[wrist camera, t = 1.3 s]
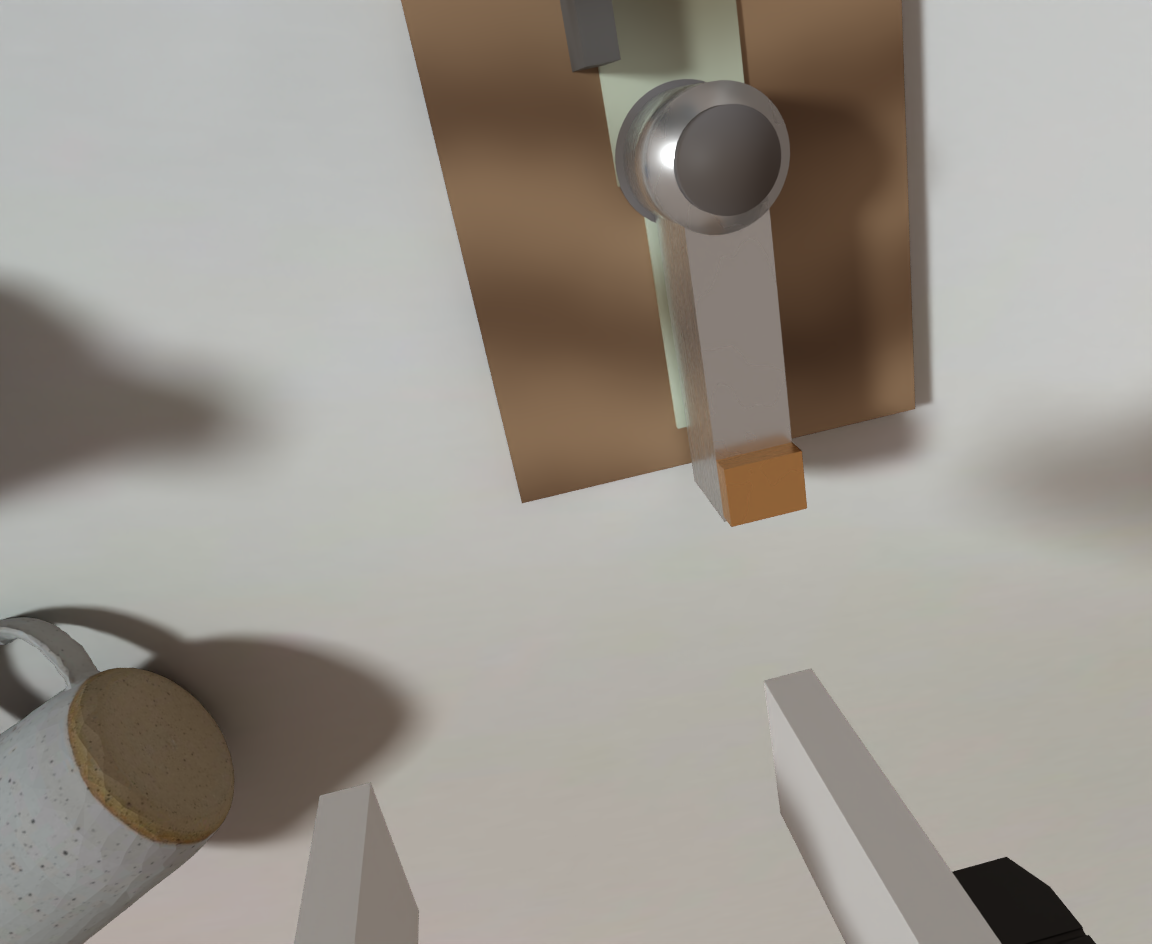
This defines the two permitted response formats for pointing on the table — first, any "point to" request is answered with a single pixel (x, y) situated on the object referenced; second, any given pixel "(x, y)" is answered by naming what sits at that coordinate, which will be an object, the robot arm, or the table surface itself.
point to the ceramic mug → (100, 792)
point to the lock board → (629, 232)
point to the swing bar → (722, 313)
